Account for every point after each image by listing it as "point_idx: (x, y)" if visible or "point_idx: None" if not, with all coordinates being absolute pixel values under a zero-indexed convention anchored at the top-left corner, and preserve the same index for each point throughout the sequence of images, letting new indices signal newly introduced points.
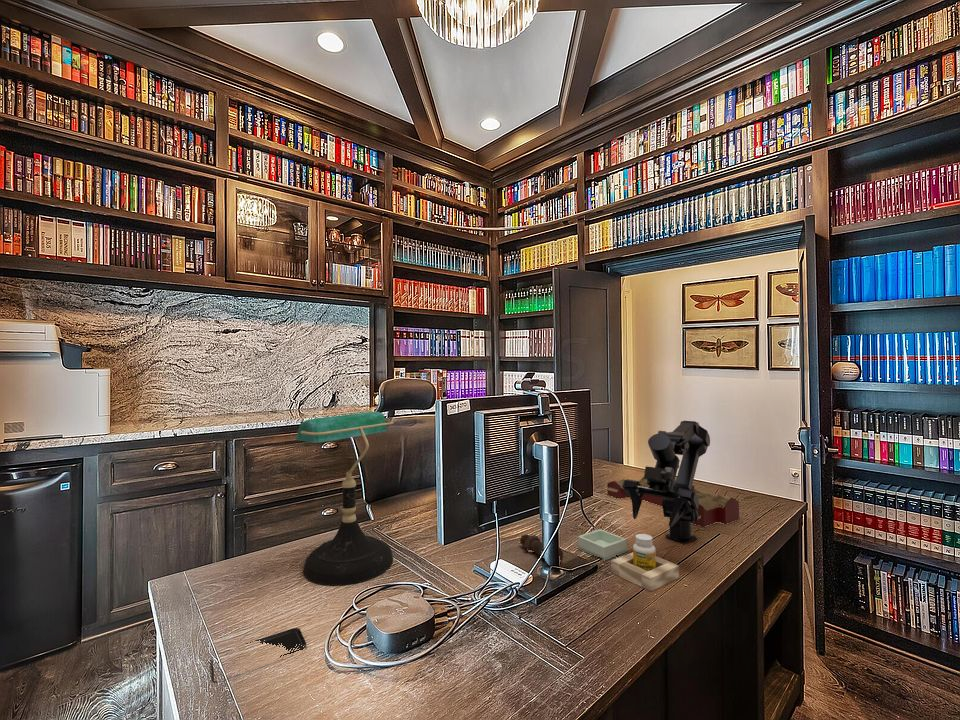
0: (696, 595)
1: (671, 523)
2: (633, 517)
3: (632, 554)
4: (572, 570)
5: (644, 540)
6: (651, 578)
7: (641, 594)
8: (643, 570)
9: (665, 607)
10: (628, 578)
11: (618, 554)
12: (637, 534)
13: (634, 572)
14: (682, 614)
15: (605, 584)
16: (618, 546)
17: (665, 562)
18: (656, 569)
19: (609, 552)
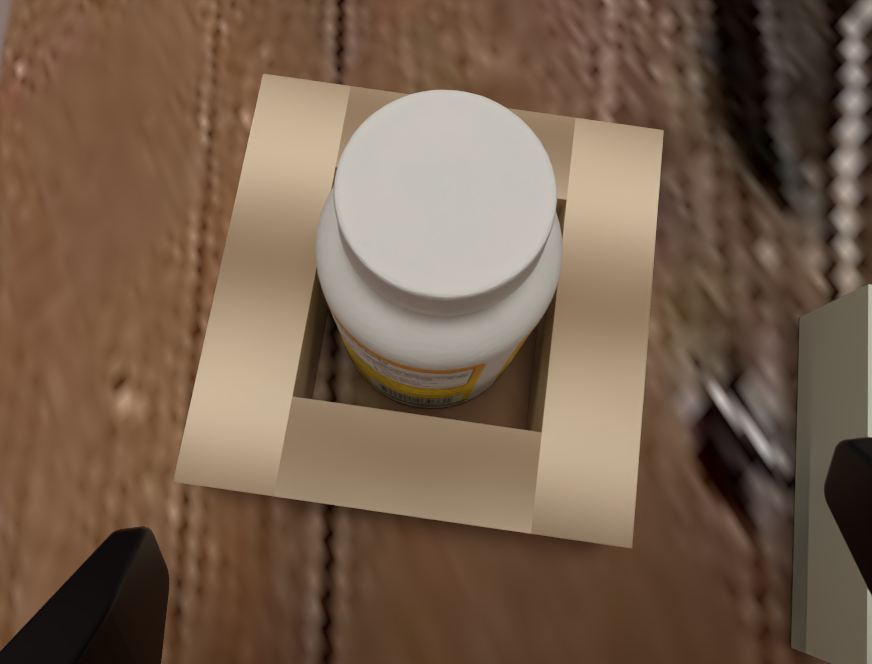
0: (12, 302)
1: (90, 565)
2: (856, 443)
3: (612, 386)
4: (836, 13)
5: (390, 108)
6: (262, 83)
7: (313, 52)
8: None
9: (129, 15)
10: None
11: (798, 511)
12: (551, 203)
13: None
14: (18, 13)
15: (555, 5)
16: None
17: (298, 452)
18: (298, 252)
19: (828, 374)
